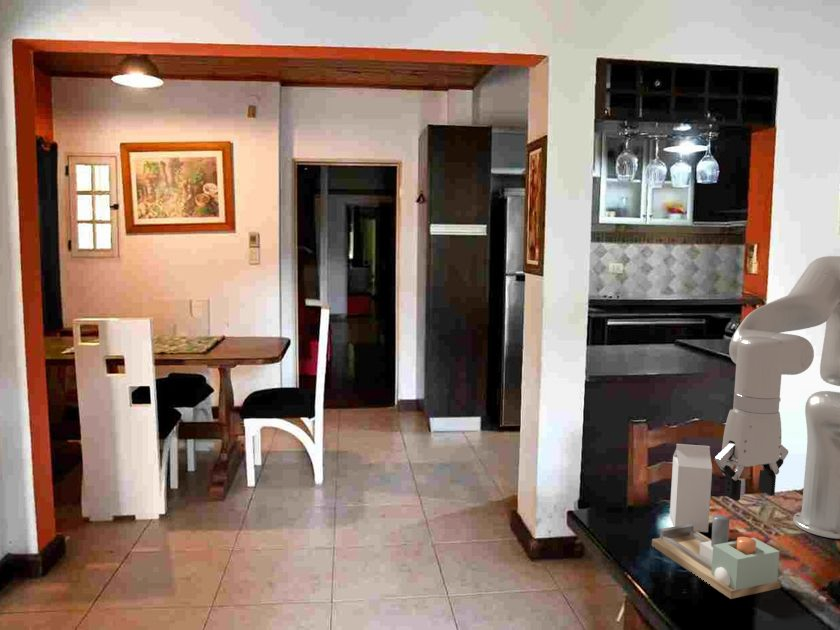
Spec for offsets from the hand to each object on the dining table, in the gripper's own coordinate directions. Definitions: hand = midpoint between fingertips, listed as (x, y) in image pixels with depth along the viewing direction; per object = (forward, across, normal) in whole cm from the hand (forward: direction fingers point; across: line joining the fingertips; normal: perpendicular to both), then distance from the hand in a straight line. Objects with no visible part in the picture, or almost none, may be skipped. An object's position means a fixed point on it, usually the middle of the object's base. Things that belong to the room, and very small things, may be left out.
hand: (749, 495), depth 125 cm
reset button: (+12, 0, 0) cm, 12 cm away
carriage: (+16, 0, -6) cm, 17 cm away
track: (+18, 0, -8) cm, 20 cm away
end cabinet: (+18, 0, 0) cm, 18 cm away
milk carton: (+18, -9, -25) cm, 32 cm away
